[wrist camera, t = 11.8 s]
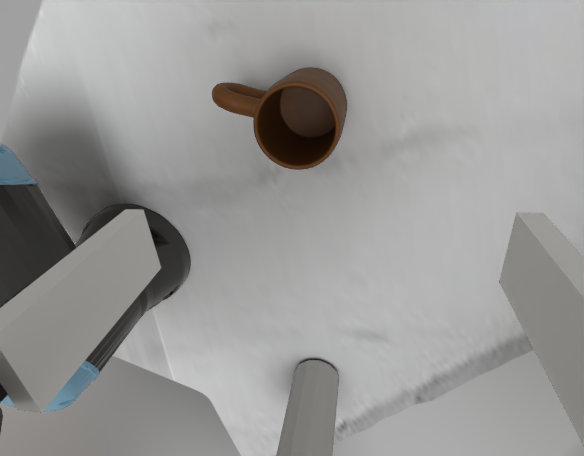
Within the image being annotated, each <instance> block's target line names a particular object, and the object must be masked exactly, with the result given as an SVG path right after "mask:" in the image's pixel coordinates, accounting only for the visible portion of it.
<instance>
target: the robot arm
mask: <svg viewBox="0 0 584 456" xmlns="http://www.w3.org/2000/svg"><path fill="white" fill-rule="evenodd" d="M37 184H38V183H37V181H36V180H35V179H33V178H32V177H31V176H30V174H29V173H28V172H27V170H26V169H25V167H24V166H23V165H22V163H21V162H20V161H19V159H18V158H17V156H16V155H15V153H14V152H13V151H12V150H11V149H9V148H8V147H6V146H5V145H2V144H0V403H2V404H5V405H8V406H11V407H14V408H17V409H18V410H24V411H32V412H40V413H42V412H52V411H57V410H60V409H63V408H65V407H67V406H69V405H70V404H72V403H73V402H74V401H75V400H76V399H77V398H78V397H79V396H80V395H81V393H82V392H83V391H84V390H85V389H86V388H87V387H88V386H89V385H90V383H91V382H92V381H94V380H95V379H96V378H97V377H98V375H99V373H100V371H101V370H102V369H103V367H104V366H105V364H106V363H107V362H108V361H109V359H110V358H111V357H112V355H113V354H114V353H115V351H116V350H117V349H118V347H119V346H120V345H121V343H122V342H123V341H124V339H125V338H126V337H127V335H128V334H129V333H130V331H131V330H132V329H133V327H134V326H135V325H136V323H137V322H138V321H139V319H140V318H141V317H142V316H143V314H144V313H145V312H146V311H148V310H149V309H151V308H153V307H154V306H156V305H157V304H159V303H160V302H161V301H162V300H165V299H167V298H168V297H170V296H172V295H173V294H174V293H175V292H176V291H177V290H178V289H179V288H180V286H181V285H182V284H183V282H184V281H185V279H186V278H187V276H188V273H189V269H190V257H189V252H188V249H187V247H186V244H185V242H184V241H183V239H182V237H181V236H180V234H179V233H178V232H177V230H176V229H175V228H174V227H173V226H172V225H171V224H170V223H169V222H168V221H166V220H165V219H164V218H162V217H161V216H159V215H158V214H156V213H154V212H152V211H151V210H148V209H146V208H143V207H140V206H136V205H130V204H119V205H114V206H110V207H108V208H106V209H104V210H103V211H101V212H100V213H99V214H97V215H96V216H95V217H93V218H92V219H91V220H90V221H89V222H88V223H87V225H86V227H85V228H84V230H83V233H82V236H81V237H80V239H79V240H78V242H77V243H76V245H74V243H73V242H72V240H71V239H70V237H69V235H68V234H67V232H66V231H65V229H64V228H63V226H62V224H61V223H60V221H59V220H58V218H57V217H56V215H55V213H54V212H53V210H52V209H51V207H50V206H49V204H48V202H47V201H46V199H45V198H44V196H43V194H42V193H41V191H40V189H39V188H38V186H37ZM499 283H500V284H501V286H502V288H503V290H504V292H505V294H506V296H507V298H508V300H509V302H510V304H511V306H512V308H513V310H514V312H515V314H516V316H517V318H518V320H519V321H520V323H521V325H522V327H523V329H524V331H525V333H526V335H527V337H528V339H529V341H530V343H531V345H532V347H533V349H534V351H535V353H536V355H537V356H538V358H539V360H540V362H541V364H542V366H543V368H544V370H545V372H546V374H547V376H548V378H549V380H550V382H551V384H552V386H553V388H554V389H555V391H556V393H557V395H558V397H559V399H560V401H561V403H562V405H563V407H564V409H565V411H566V413H567V415H568V417H569V419H570V421H571V423H572V425H573V427H574V428H575V430H576V432H577V434H578V436H579V438H580V440H581V442H582V444H583V446H584V256H583V255H582V254H581V253H580V252H579V251H578V250H577V249H576V248H575V247H574V246H573V244H572V243H571V242H570V241H569V240H568V239H567V238H566V237H565V236H564V235H563V234H562V233H561V232H560V230H559V229H558V228H557V227H556V226H555V225H554V224H553V223H552V222H551V221H550V220H549V219H548V218H547V216H546V215H545V214H544V213H516V216H515V220H514V224H513V228H512V232H511V236H510V240H509V244H508V248H507V252H506V256H505V260H504V264H503V268H502V272H501V276H500V280H499ZM2 418H3V415H2V410H1V408H0V432H1V425H2Z"/></svg>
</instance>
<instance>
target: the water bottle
mask: <svg viewBox="0 0 584 456" xmlns="http://www.w3.org/2000/svg"><path fill="white" fill-rule="evenodd" d="M338 385H339V379H338V373H337V372H336V371H335V370H334V368H333V367H332V366H331V365H330V364H327V363H325V362H323V361H320V360H308V361H305V362H303V363H300V364H299V365H298V367H297V368H296V370H295V372H294V377H293V382H292V386H291V391H290V395H289V400H288V405H287V409H286V414H285V418H284V423H283V428H282V432H281V437H280V441H279V446H278V451H277V455H276V456H332V452H333V441H334V430H335V419H336V407H337V396H338Z"/></svg>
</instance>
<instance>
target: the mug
mask: <svg viewBox="0 0 584 456" xmlns="http://www.w3.org/2000/svg"><path fill="white" fill-rule="evenodd" d="M212 98H213V101H214V102H215V103H216V104H217V105H218V106H219V107H221V108H223V109H225V110H227V111H230V112H233V113H236V114H241V115H245V116H249V117H253V118H254V133H255V137H256V140H257V142H258V144H259V146H260V148H261V149H262V151H263V152H264V153H265V155H266V156H267V157H268V158H270V159H271V160H272V161H273V162H275V163H277V164H278V165H280V166H283V167H286V168H289V169H299V170H300V169H307V168H311V167H314V166H316V165H318V164H320V163H321V162H323V161H324V160H325V159H326V158H328V157H329V155H330V154H331V153H332V152H333V150H334V148H335V147H336V145H337V143H338V141H339V139H340V137H341V133H342V130H343V126H344V122H345V117H346V111H347V101H346V96H345V93H344V90H343V88H342V86H341V84H340V83H339V82H338V80H337V79H336V78H335V77H334V76H332V75H331V74H330V73H328V72H326V71H324V70H321V69H318V68H303V69H300V70H297V71H295V72H293V73H291V74H289V75H288V76H286V77H284V78H283V79H281V80H280V81H278V82H277V83H275V84H274V85H273V86H272V87H271V88H269V90H268V91H262V90H258V89H255V88H252V87H248V86H245V85H241V84H236V83H220V84H217V85H216V86H215V87H214V88H213V90H212Z"/></svg>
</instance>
